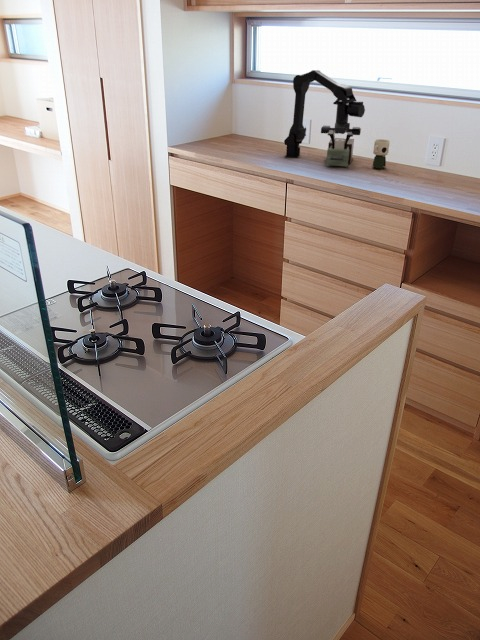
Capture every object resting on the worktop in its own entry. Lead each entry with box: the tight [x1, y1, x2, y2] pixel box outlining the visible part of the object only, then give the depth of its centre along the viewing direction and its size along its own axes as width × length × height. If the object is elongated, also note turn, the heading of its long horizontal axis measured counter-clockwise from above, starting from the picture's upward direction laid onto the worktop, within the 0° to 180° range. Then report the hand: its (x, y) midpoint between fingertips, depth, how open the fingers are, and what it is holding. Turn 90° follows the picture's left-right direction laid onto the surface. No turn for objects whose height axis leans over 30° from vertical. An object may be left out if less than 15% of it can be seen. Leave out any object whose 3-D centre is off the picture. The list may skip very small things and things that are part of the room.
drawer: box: [325, 145, 350, 167], centre depth 266 cm, size 17×10×8 cm, turn 166°
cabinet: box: [327, 137, 355, 165], centre depth 277 cm, size 14×12×10 cm
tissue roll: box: [334, 139, 345, 149], centre depth 265 cm, size 5×5×5 cm
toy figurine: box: [372, 138, 391, 170], centre depth 262 cm, size 11×7×13 cm, turn 132°
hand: (339, 148), depth 266 cm, fingers closed on tissue roll, 5 cm apart
